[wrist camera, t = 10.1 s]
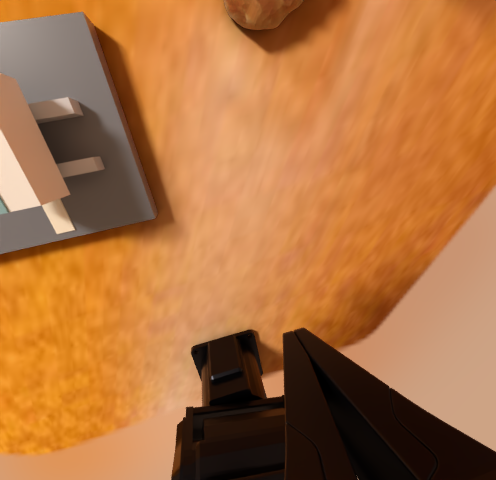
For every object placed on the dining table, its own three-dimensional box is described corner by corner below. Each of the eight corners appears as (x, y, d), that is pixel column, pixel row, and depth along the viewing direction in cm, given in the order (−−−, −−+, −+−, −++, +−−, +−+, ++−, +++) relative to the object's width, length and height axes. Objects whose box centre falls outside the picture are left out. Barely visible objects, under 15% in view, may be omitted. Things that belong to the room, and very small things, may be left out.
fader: (82, 190, 16) (39, 205, 12) (25, 201, 16) (-40, 222, 11) (35, 86, 14) (-39, 58, 9) (-33, 97, 13) (-142, 73, 9)
